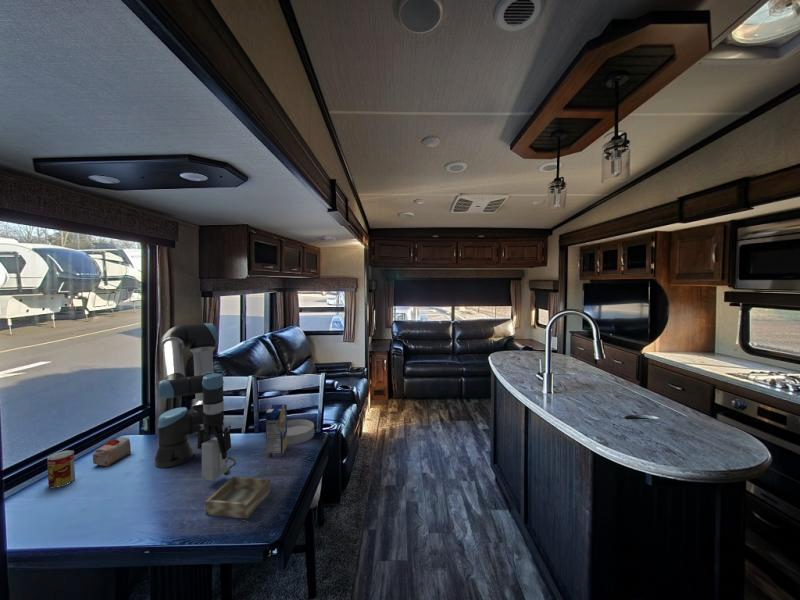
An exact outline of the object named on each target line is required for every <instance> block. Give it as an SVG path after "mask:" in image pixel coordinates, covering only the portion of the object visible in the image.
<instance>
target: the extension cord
mask: <svg viewBox="0 0 800 600" xmlns="http://www.w3.org/2000/svg"><path fill="white" fill-rule="evenodd" d="M227 460H232V461H233V463H234V464H232V465H230V466H227V472H225V473H224V476H226V475H229V472H230V470H229V469H232V467H233V466H235V465H236V459H235V458H233V457H231V456H227Z"/></svg>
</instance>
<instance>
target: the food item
mask: <svg viewBox="0 0 800 600" xmlns="http://www.w3.org/2000/svg"><path fill="white" fill-rule="evenodd" d="M130 453H132V451H131V441H130V438H128V437H119V438H117V439H116V438H114V439H112V440H109V439H106V441H105V444H104V445H103V446H100V447H99V448H98V449H96V450H95V452H94V453H93V454H92V463H93V464H94V465H97V466H101V467H102V466H103V467H110V466H111V465H112V464H114V463H115V462H117V461H119V460H120V459H123V458H124V457H126V456H127V455H129V454H130Z"/></svg>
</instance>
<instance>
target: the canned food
mask: <svg viewBox="0 0 800 600" xmlns="http://www.w3.org/2000/svg"><path fill="white" fill-rule="evenodd" d="M46 460H47V461H46V462H47V480H48V481H47V482H48V484H47V486H48V485H49V486H48V488H49V487H57V486H62V485H65V484H67V483H69V482H71V481H73V480H74V479H75V480H76V469H75V451H74V450H71V449H70V450H69V449H67V450H63V451H62V450H61V451H58V452H56V453H53V454H50V455H49V456H47V459H46ZM75 480H74V481H75ZM74 481H73V482H74Z"/></svg>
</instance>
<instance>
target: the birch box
mask: <svg viewBox="0 0 800 600" xmlns="http://www.w3.org/2000/svg"><path fill="white" fill-rule="evenodd" d="M270 493H271V478H270V479H269V478H257V477H247V476H246V477H244V476H232V477H231V478H229V480H227V481H226V482H225V483H224V484H223V485H222V486H221V487H219V489H218V490H216V491H215V492H214V493H213V494H211V496H210V497H209V498H208V499H206V500H205V515H206V516H215V517H224V518H225V517H226V518H238V519H248V518H249V517H250V516H251V515H252V514H253V513H254V512H255V510H256V509H257V508H258V507H259V506H260V504H261V503H262V502H263V501H264V499H266V498H267V496H268V495H269V494H270Z"/></svg>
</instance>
